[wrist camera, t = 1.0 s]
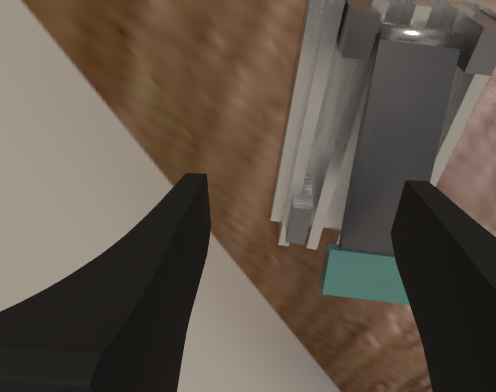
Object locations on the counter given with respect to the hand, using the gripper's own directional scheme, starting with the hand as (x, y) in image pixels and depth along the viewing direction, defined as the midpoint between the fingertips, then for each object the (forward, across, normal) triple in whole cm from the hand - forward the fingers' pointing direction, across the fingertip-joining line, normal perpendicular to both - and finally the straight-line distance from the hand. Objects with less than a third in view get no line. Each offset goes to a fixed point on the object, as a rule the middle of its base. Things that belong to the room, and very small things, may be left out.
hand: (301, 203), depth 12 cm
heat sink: (+10, -4, +2) cm, 11 cm away
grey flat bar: (+5, -4, +2) cm, 6 cm away
